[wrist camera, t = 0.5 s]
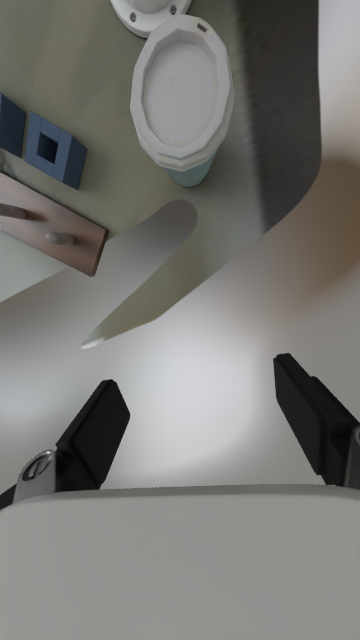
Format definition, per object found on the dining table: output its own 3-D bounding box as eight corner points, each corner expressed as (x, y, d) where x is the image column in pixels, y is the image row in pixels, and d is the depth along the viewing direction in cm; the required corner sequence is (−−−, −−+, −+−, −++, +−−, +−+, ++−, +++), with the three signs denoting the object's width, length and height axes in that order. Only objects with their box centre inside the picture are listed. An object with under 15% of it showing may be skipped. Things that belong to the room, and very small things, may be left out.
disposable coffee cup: (199, 212, 33) (199, 184, 19) (146, 180, 32) (106, 126, 18) (232, 145, 29) (264, 49, 15) (174, 107, 28) (150, -35, 14)
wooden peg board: (0, 171, 33) (-47, 151, 27) (109, 230, 35) (89, 226, 29) (-4, 224, 37) (-47, 219, 30) (94, 276, 39) (74, 281, 32)
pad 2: (50, 127, 30) (30, 110, 27) (87, 149, 31) (72, 135, 27) (43, 171, 33) (24, 160, 29) (77, 190, 33) (62, 182, 30)
